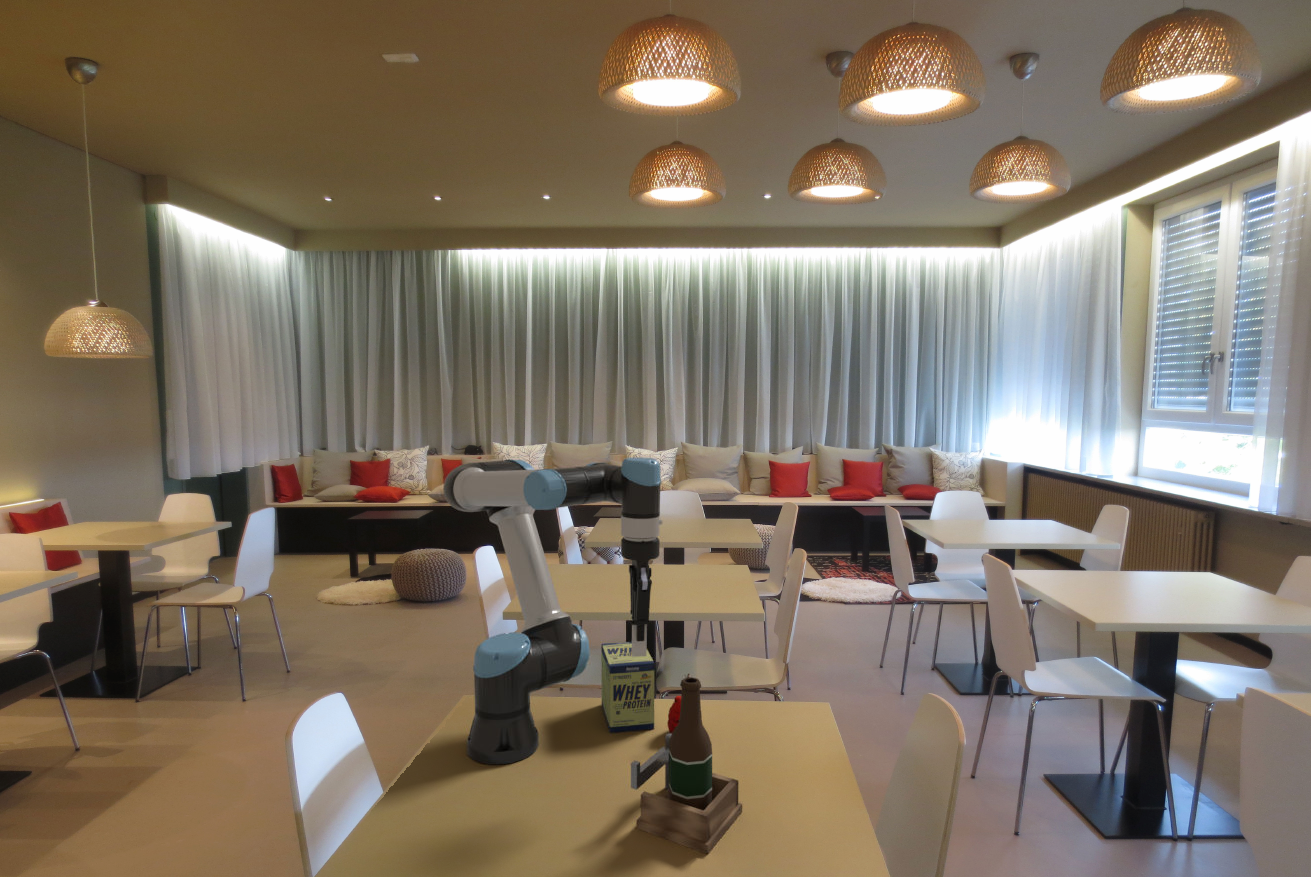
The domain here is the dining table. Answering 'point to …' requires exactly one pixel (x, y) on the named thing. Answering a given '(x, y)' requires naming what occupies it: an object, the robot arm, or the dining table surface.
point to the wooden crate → (691, 814)
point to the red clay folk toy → (675, 713)
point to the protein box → (627, 688)
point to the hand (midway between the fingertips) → (639, 654)
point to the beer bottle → (690, 752)
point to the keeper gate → (648, 767)
